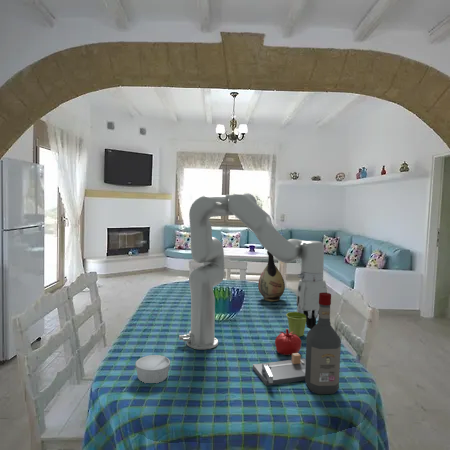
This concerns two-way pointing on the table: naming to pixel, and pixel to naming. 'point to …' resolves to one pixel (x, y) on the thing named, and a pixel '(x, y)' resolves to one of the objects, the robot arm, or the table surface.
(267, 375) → the silver metal bar
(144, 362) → the ramekin
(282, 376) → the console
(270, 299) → the ceramic jug
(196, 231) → the robot arm
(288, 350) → the pomegranate
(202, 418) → the table surface
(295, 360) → the fader knob
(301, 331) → the plant pot
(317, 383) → the liquor
